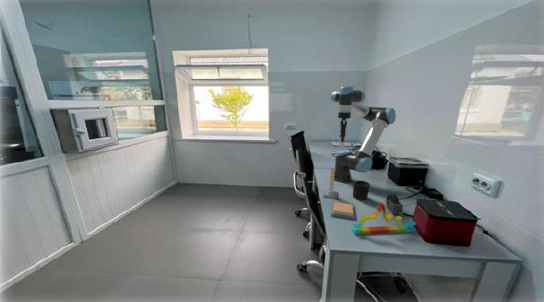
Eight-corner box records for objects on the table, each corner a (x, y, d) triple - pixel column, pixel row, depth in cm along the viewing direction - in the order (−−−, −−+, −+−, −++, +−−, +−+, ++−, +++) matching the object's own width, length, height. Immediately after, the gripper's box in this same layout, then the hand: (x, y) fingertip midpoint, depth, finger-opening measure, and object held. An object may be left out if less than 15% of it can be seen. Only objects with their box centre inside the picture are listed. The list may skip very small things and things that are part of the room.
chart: (410, 228, 104) (415, 200, 100) (414, 232, 100) (420, 204, 97) (351, 230, 101) (354, 202, 97) (354, 235, 98) (357, 206, 94)
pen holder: (369, 201, 130) (371, 186, 127) (353, 200, 132) (355, 185, 129) (365, 195, 139) (367, 181, 136) (351, 193, 141) (352, 179, 138)
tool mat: (324, 190, 145) (324, 189, 145) (338, 192, 142) (338, 191, 142) (323, 197, 135) (323, 196, 135) (338, 199, 132) (338, 198, 132)
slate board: (332, 202, 128) (332, 200, 128) (352, 205, 125) (353, 203, 124) (331, 215, 113) (331, 213, 113) (354, 219, 110) (355, 217, 109)
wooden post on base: (325, 190, 143) (327, 166, 139) (337, 192, 141) (339, 167, 137) (324, 195, 136) (326, 170, 132) (337, 197, 134) (339, 171, 129)
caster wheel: (383, 206, 126) (396, 218, 111) (384, 191, 124) (397, 200, 109) (392, 207, 125) (407, 218, 110) (394, 191, 124) (409, 201, 109)
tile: (333, 202, 122) (333, 210, 113) (352, 204, 120) (353, 213, 110) (333, 204, 123) (333, 212, 114) (351, 207, 120) (352, 215, 111)
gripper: (338, 110, 145) (335, 140, 150) (338, 112, 121) (335, 148, 126) (349, 111, 142) (346, 141, 147) (352, 113, 119) (348, 149, 124)
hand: (341, 144), depth 137 cm, fingers open, 13 cm apart
